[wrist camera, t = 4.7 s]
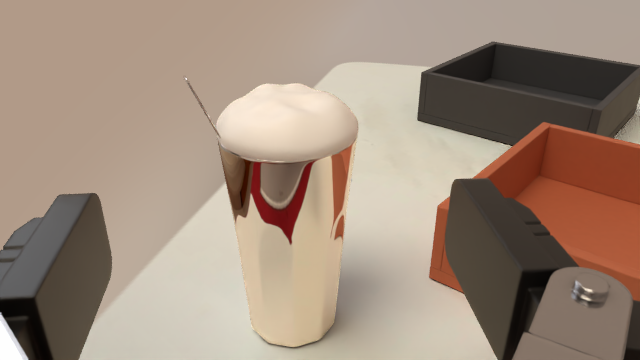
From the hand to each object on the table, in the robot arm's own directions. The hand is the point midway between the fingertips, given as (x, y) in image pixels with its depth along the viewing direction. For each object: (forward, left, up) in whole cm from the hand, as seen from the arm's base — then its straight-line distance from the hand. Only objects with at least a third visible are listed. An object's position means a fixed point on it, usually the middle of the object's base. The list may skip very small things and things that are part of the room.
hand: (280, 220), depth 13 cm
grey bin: (-5, +32, -8) cm, 33 cm away
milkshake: (-4, +4, -8) cm, 10 cm away
